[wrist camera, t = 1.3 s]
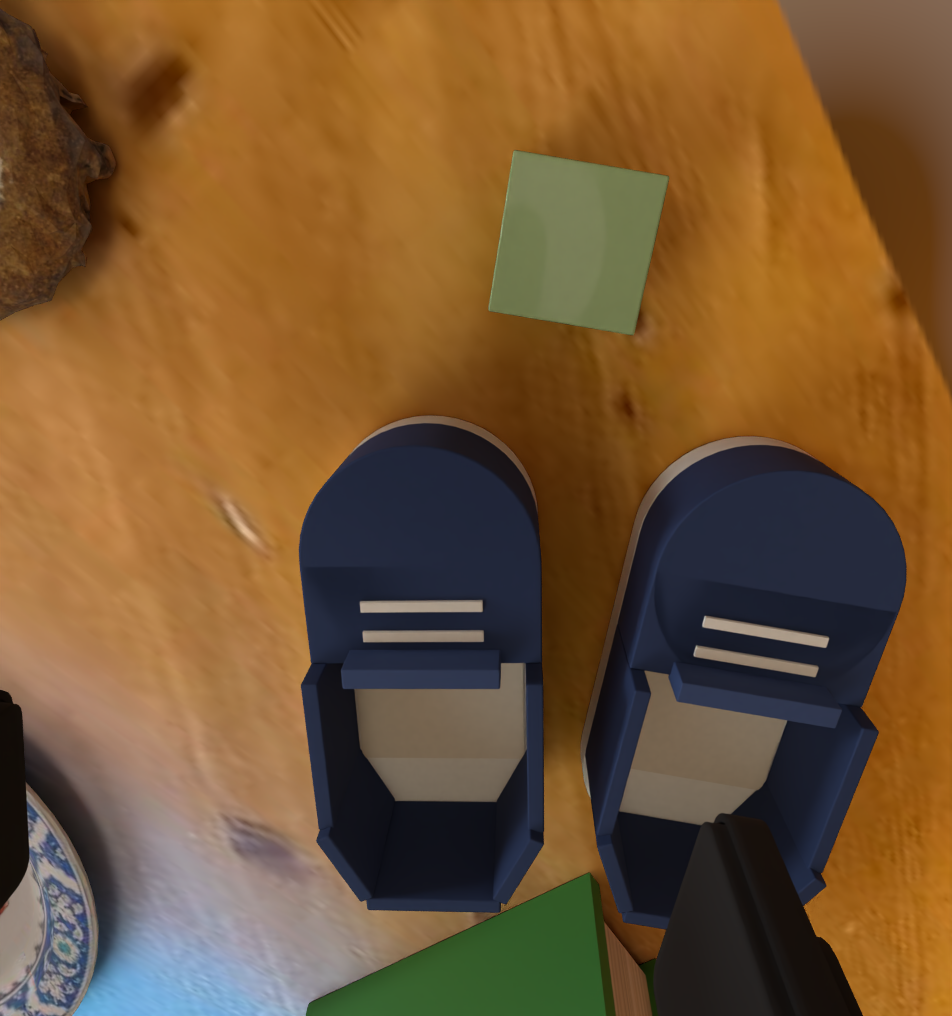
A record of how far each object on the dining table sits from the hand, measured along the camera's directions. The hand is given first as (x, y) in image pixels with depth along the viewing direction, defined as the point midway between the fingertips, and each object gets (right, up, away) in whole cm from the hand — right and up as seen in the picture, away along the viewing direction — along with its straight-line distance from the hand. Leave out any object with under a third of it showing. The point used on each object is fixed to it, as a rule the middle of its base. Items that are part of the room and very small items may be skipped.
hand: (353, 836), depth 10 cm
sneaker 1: (0, -1, +22) cm, 22 cm away
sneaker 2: (+12, -2, +22) cm, 25 cm away
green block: (+5, +14, +17) cm, 23 cm away
